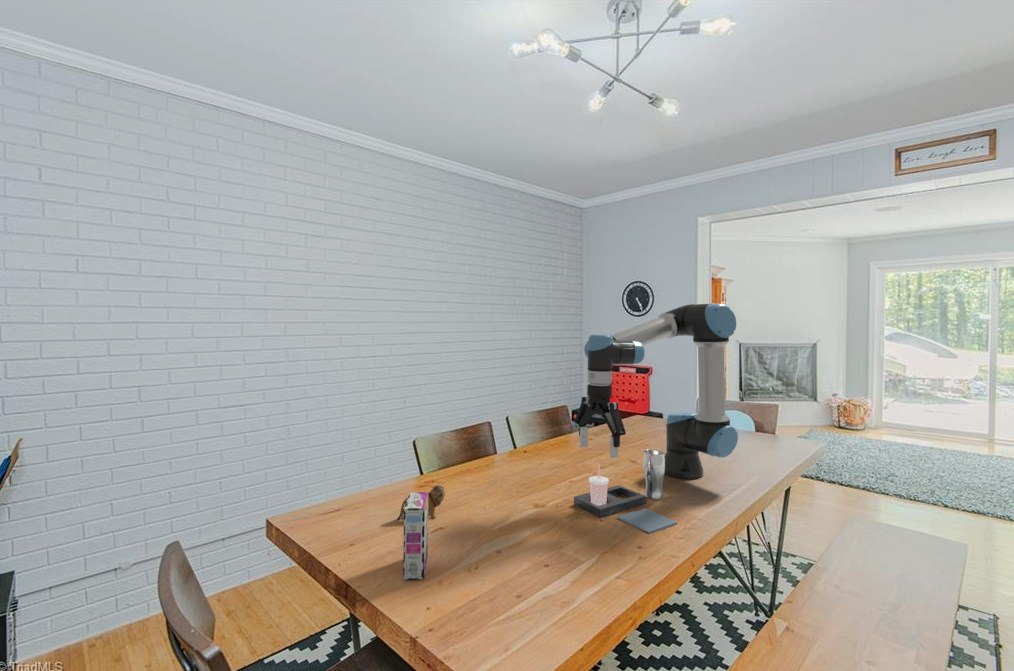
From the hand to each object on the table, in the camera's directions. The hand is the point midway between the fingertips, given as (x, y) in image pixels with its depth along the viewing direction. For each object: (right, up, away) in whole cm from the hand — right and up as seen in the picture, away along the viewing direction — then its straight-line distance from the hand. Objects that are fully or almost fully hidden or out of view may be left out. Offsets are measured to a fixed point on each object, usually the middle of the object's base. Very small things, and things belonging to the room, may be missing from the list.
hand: (598, 451), depth 149 cm
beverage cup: (0, -18, +1) cm, 18 cm away
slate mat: (+12, -18, -9) cm, 24 cm away
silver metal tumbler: (+20, -18, +10) cm, 29 cm away
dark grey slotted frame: (+4, -18, +3) cm, 18 cm away
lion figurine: (-54, -18, -7) cm, 57 cm away
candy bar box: (-50, -19, -36) cm, 64 cm away
